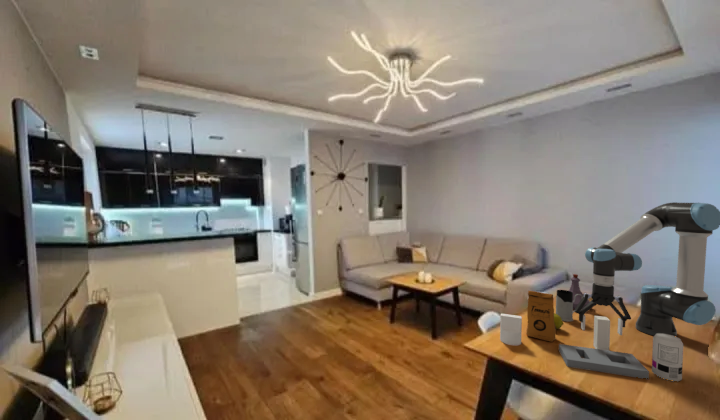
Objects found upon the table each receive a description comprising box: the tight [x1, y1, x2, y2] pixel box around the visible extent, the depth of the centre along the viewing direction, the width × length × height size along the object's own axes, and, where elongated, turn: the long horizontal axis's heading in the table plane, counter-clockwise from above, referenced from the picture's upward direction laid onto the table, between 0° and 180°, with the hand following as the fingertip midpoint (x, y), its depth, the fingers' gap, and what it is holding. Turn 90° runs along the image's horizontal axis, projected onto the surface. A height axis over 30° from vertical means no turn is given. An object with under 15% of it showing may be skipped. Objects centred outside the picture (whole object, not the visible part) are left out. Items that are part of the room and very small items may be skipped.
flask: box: [567, 273, 591, 310], centre depth 193 cm, size 16×16×20 cm
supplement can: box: [651, 333, 684, 382], centre depth 119 cm, size 8×8×15 cm
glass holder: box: [555, 289, 583, 322], centre depth 176 cm, size 9×14×15 cm, turn 88°
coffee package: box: [525, 290, 557, 343], centre depth 152 cm, size 10×12×22 cm
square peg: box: [593, 315, 611, 351], centre depth 141 cm, size 4×4×14 cm
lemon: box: [554, 312, 564, 330], centre depth 163 cm, size 11×8×8 cm
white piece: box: [499, 313, 523, 346], centre depth 149 cm, size 9×9×12 cm
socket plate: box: [558, 343, 650, 380], centre depth 129 cm, size 26×14×3 cm, turn 70°
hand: (601, 331), depth 141 cm, fingers open, 13 cm apart
